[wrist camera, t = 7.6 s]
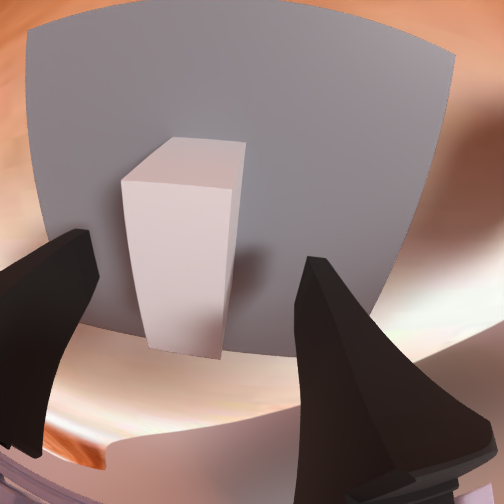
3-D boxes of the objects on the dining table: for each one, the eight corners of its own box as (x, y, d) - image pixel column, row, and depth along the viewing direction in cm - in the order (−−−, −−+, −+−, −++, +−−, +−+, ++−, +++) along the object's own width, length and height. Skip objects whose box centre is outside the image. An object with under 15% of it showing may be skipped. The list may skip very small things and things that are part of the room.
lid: (442, 54, 7) (532, 65, 3) (342, 346, 17) (354, 421, 12) (42, 29, 7) (-47, 39, 3) (84, 310, 16) (51, 374, 12)
